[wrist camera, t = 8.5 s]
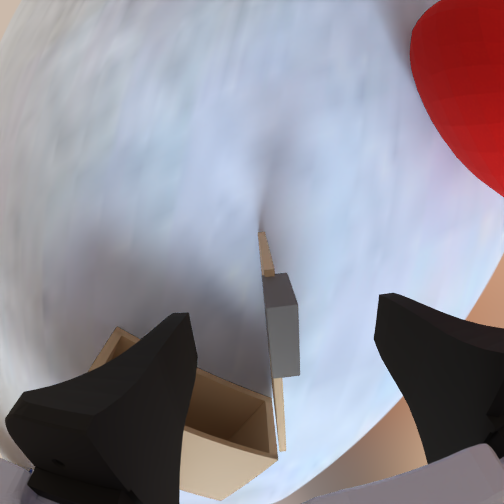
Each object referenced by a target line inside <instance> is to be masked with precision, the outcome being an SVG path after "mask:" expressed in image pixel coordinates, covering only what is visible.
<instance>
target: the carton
mask: <svg viewBox="0 0 504 504" xmlns="http://www.w3.org/2000/svg"><path fill="white" fill-rule="evenodd" d="M139 340H140V339H139V338H137V337H135V336H133V335H131V334H129V333H128V332H126V331H124V330H122V329H120V328H119V327H116V329H115V330H114V332H113V333H112V335H111V336H110V338H109V339H108V341H107V342H106V344H105V345H104V347H103V349H102V350H101V352H100V353H99V355H98V356H97V358H96V360H95V361H94V363H93V364H92V366H91V368H90V369H89V371H92V370H94V369H96V368H98V367H100V366H102V365H104V364H105V363H107V362H109V361H111V360H112V359H114V358H116V357H117V356H119V355H120V354H122V353H123V352H125V351H126V350H127V349H129V348H130V347H131V346H133V345H134V344H135V343H137V342H138V341H139ZM89 371H88V372H89ZM277 460H278V454H277V444H276V435H275V426H274V416H273V407H272V398H270V397H267V396H264V395H261V394H259V393H256V392H254V391H251V390H249V389H246V388H243V387H241V386H238V385H236V384H234V383H231V382H229V381H226V380H224V379H222V378H219V377H217V376H215V375H212V374H210V373H208V372H206V371H203V370H201V369H199V368H197V370H196V379H195V383H194V388H193V392H192V396H191V400H190V405H189V409H188V413H187V417H186V421H185V426H184V432H183V440H182V451H181V464H180V487H179V489H180V490H183V491H186V492H189V493H193V494H196V495H200V496H204V497H207V498H211V499H215V500H219V501H222V500H223V499H225V498H226V497H228V496H229V495H231V494H232V493H234V492H235V491H237V490H238V489H240V488H241V487H243V486H244V485H245V484H247V483H248V482H250V481H251V480H252V479H254V478H255V477H257V476H258V475H259V474H261V473H262V472H263V471H265V470H266V469H267V468H269V467H270V466H271V465H272V464H274V463H275V462H276V461H277Z"/></svg>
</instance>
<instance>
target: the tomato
mask: <svg viewBox="0 0 504 504" xmlns="http://www.w3.org/2000/svg"><path fill="white" fill-rule="evenodd" d="M410 61H411V69H412V73H413V77H414V80H415V83H416V87H417V90H418V93H419V95H420V97H421V99H422V102H423V104H424V107H425V108H426V110H427V112H428V114H429V116H430V118H431V120H432V122H433V124H434V125H435V127H436V129H437V130H438V132H439V134H440V135H441V137H442V138H443V139H444V141H445V142H446V143H447V145H448V146H449V147H450V149H451V150H452V151H453V153H454V154H455V155H456V157H457V158H458V159H459V160H460V161H461V162H462V163H463V164H464V165H465V166H466V167H467V168H468V170H470V171H471V172H472V173H473V174H474V175H475V176H476V177H477V178H478V179H480V180H481V181H482V182H484V183H485V184H486V185H488V186H489V187H490V188H492V189H493V190H495V191H496V192H497V193H499V194H500V195H501V196H503V197H504V0H440V1H439V2H437V3H436V4H434V5H433V6H432V7H430V8H429V9H428V10H427V11H426V12H425V13H424V14H423V15H422V16H421V18H420V19H419V20H418V21H417V23H416V25H415V27H414V29H413V30H412V37H411V45H410Z"/></svg>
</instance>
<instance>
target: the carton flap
mask: <svg viewBox="0 0 504 504" xmlns="http://www.w3.org/2000/svg"><path fill="white" fill-rule="evenodd" d="M258 240H259V250H260V260H261V271H262V282H263V293H264V303H265V314H266V324H267V335H268V344H269V355H270V366H271V377H272V388H273V398H274V406H275V415H276V424H277V433H278V441H279V450H280V452H281V451H286V436H285V417H284V400H283V383H282V378H283V377H291V376H299V375H300V352H299V319H298V303H297V300H296V297H295V294H294V292H293V289H292V286H291V283H290V280H289V277H288V274H287V273H280V274H275V271H274V266H273V262H272V258H271V254H270V250H269V246H268V242H267V238H266V234H265V232H258Z"/></svg>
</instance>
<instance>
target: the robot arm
mask: <svg viewBox="0 0 504 504" xmlns="http://www.w3.org/2000/svg"><path fill="white" fill-rule="evenodd" d="M374 341H375V344H376V346H377V349H378V351H379V354H380V356H381V358H382V360H383V362H384V364H385V365H386V367H387V369H388V371H389V372H390V374H391V376H392V377H393V379H394V381H395V382H396V384H397V386H398V388H399V389H400V391H401V393H402V394H403V396H404V398H405V400H406V402H407V404H408V406H409V408H410V410H411V413H412V416H413V418H414V421H415V423H416V426H417V429H418V432H419V435H420V438H421V441H422V444H423V447H424V451H425V455H426V459H427V463H428V465H425V466H423V467H420V468H417V469H414V470H411V471H409V472H406V473H402V474H399V475H396V476H393V477H390V478H386V479H383V480H379V481H376V482H372V483H368V484H364V485H360V486H356V487H352V488H347V489H344V490H340V491H336V492H333V493H329V494H326V495H322V496H318V497H314V498H312V499H310V500H308V501H306V502H304V503H301V504H504V329H503V328H496V327H491V326H486V325H481V324H477V323H473V322H470V321H466V320H463V319H459V318H456V317H454V316H451V315H448V314H446V313H443V312H440V311H438V310H435V309H433V308H431V307H428V306H426V305H424V304H421V303H419V302H417V301H414V300H412V299H410V298H407V297H405V296H402V295H399V294H396V293H388V294H381V295H379V301H378V310H377V319H376V326H375V334H374ZM197 358H198V357H197V352H196V347H195V342H194V338H193V333H192V328H191V323H190V317H189V313H172V314H171V315H170V316H168V317H167V318H166V319H165V320H163V321H162V322H161V323H160V324H159V325H158V326H156V327H155V328H154V329H153V330H152V331H151V332H149V333H148V334H147V335H146V336H145V337H143V338H142V339H141V340H139V341H138V342H137V343H135V344H134V345H133V346H131V347H130V348H129V349H127V350H126V351H125V352H123V353H122V354H120V355H119V356H117V357H116V358H114V359H112V360H111V361H109V362H107V363H105V364H104V365H102V366H100V367H98V368H96V369H94V370H92V371H89V372H87V373H85V374H83V375H81V376H78V377H76V378H73V379H71V380H68V381H65V382H62V383H59V384H56V385H52V386H49V387H44V388H40V389H36V390H31V391H26V392H23V394H22V395H21V396H20V398H19V399H18V401H17V402H16V403H15V405H14V406H13V408H12V409H11V411H10V412H9V414H8V415H7V417H6V418H5V423H6V427H7V430H8V432H9V434H10V436H11V437H12V439H13V440H14V442H15V443H16V444H17V446H18V447H19V448H20V449H21V450H22V452H23V453H24V454H25V455H26V457H27V458H28V459H29V460H30V461H31V462H32V463H33V465H34V466H35V469H34V471H33V473H32V474H31V473H30V472H29V471H27V470H26V469H24V468H22V467H20V466H18V465H16V464H13V463H11V462H9V461H7V460H5V459H1V458H0V504H179V487H180V464H181V451H182V440H183V432H184V426H185V421H186V417H187V413H188V409H189V405H190V400H191V396H192V392H193V388H194V383H195V379H196V370H197Z"/></svg>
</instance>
